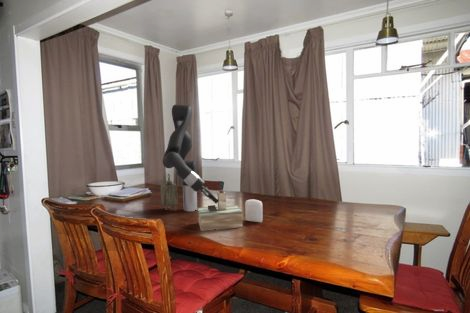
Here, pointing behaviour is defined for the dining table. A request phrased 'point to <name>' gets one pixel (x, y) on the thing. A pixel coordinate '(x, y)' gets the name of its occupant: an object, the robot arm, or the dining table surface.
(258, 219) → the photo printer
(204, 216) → the rectangular block
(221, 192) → the wooden knobbed block
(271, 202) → the dining table surface
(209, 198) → the robot arm
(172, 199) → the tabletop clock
